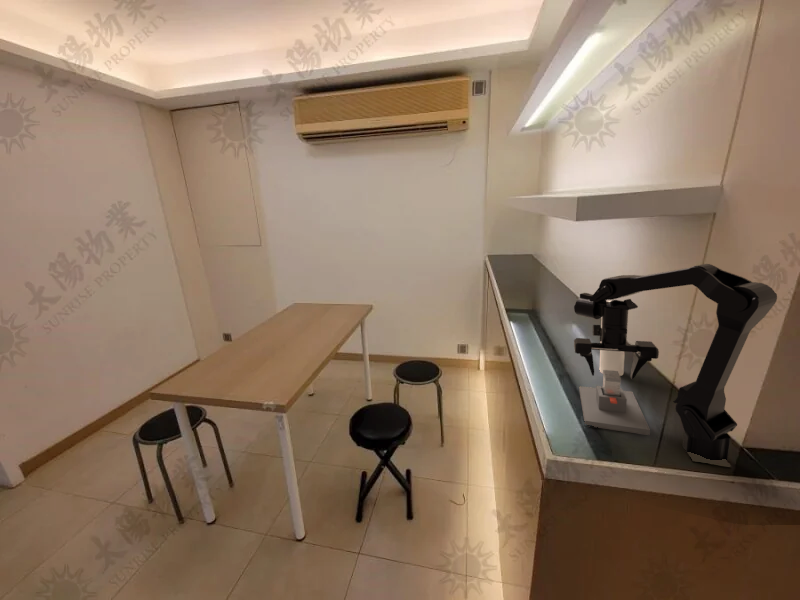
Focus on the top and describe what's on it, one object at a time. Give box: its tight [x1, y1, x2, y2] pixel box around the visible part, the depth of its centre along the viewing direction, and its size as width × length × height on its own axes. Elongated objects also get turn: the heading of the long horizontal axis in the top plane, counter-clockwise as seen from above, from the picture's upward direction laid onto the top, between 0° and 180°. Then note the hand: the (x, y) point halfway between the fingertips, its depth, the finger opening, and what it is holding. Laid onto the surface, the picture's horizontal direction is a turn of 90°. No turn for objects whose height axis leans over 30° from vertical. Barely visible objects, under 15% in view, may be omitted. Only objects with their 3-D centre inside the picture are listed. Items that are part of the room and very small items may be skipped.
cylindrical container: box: [598, 300, 625, 377], centre depth 112 cm, size 7×7×25 cm
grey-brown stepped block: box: [602, 370, 622, 397], centre depth 91 cm, size 4×5×9 cm
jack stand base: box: [578, 385, 651, 436], centre depth 92 cm, size 14×20×6 cm
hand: (612, 376), depth 90 cm, fingers open, 9 cm apart
